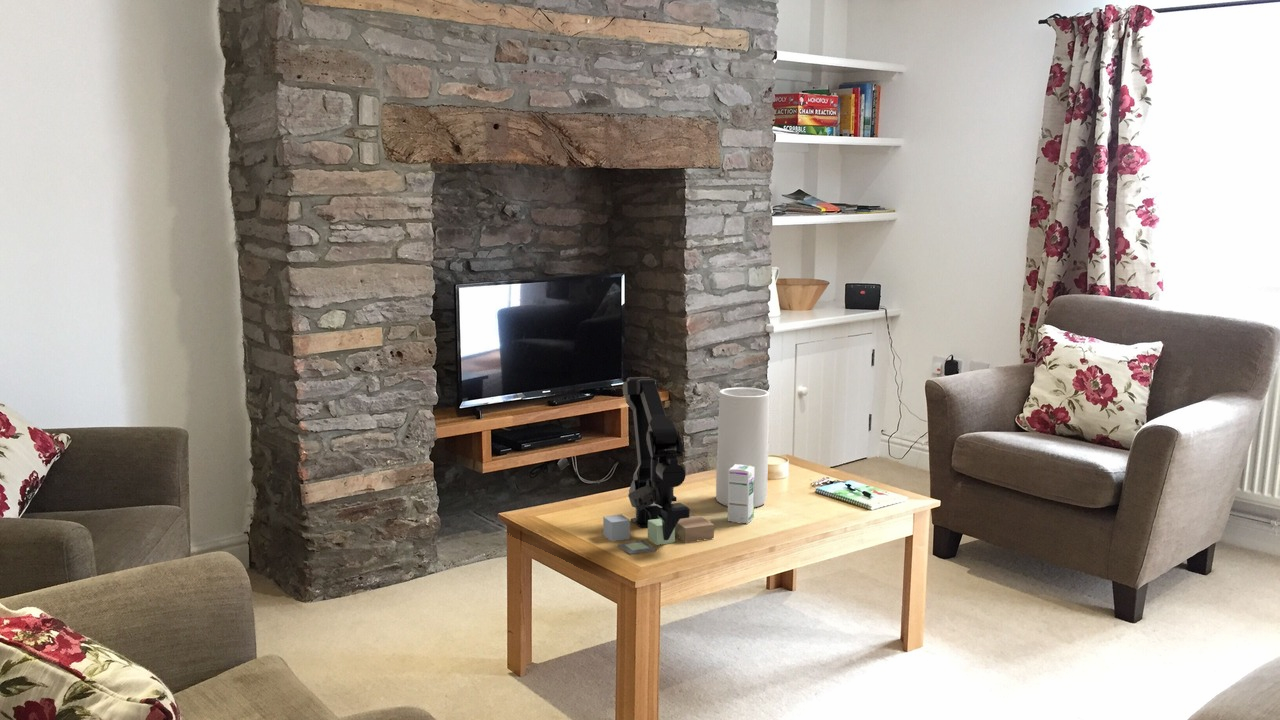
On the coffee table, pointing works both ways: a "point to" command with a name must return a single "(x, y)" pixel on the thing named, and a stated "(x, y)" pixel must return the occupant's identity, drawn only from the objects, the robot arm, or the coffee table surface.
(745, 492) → the syrup box
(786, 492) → the coffee table surface
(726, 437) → the vase
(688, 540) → the walnut block
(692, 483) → the coffee table surface
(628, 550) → the card
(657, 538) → the green cube
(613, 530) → the slate cube
